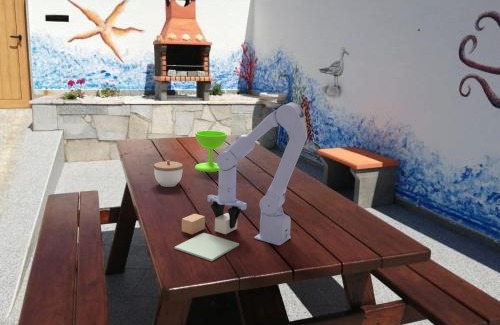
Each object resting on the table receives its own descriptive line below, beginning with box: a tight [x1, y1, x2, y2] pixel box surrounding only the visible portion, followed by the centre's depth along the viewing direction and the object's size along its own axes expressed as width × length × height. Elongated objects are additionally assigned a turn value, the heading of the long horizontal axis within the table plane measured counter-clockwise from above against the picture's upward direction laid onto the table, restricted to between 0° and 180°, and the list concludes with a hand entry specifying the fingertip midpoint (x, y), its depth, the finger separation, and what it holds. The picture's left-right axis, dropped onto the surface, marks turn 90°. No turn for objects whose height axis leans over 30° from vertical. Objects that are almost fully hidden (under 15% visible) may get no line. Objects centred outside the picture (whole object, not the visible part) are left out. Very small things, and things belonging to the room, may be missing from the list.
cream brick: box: [214, 212, 238, 235], centre depth 150 cm, size 4×6×4 cm
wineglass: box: [194, 130, 228, 173], centre depth 230 cm, size 16×16×18 cm
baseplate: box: [174, 232, 240, 262], centre depth 138 cm, size 14×14×1 cm
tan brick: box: [181, 213, 206, 235], centre depth 150 cm, size 4×6×4 cm
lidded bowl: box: [153, 159, 184, 188], centre depth 199 cm, size 13×13×11 cm
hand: (226, 225), depth 150 cm, fingers closed on cream brick, 4 cm apart
